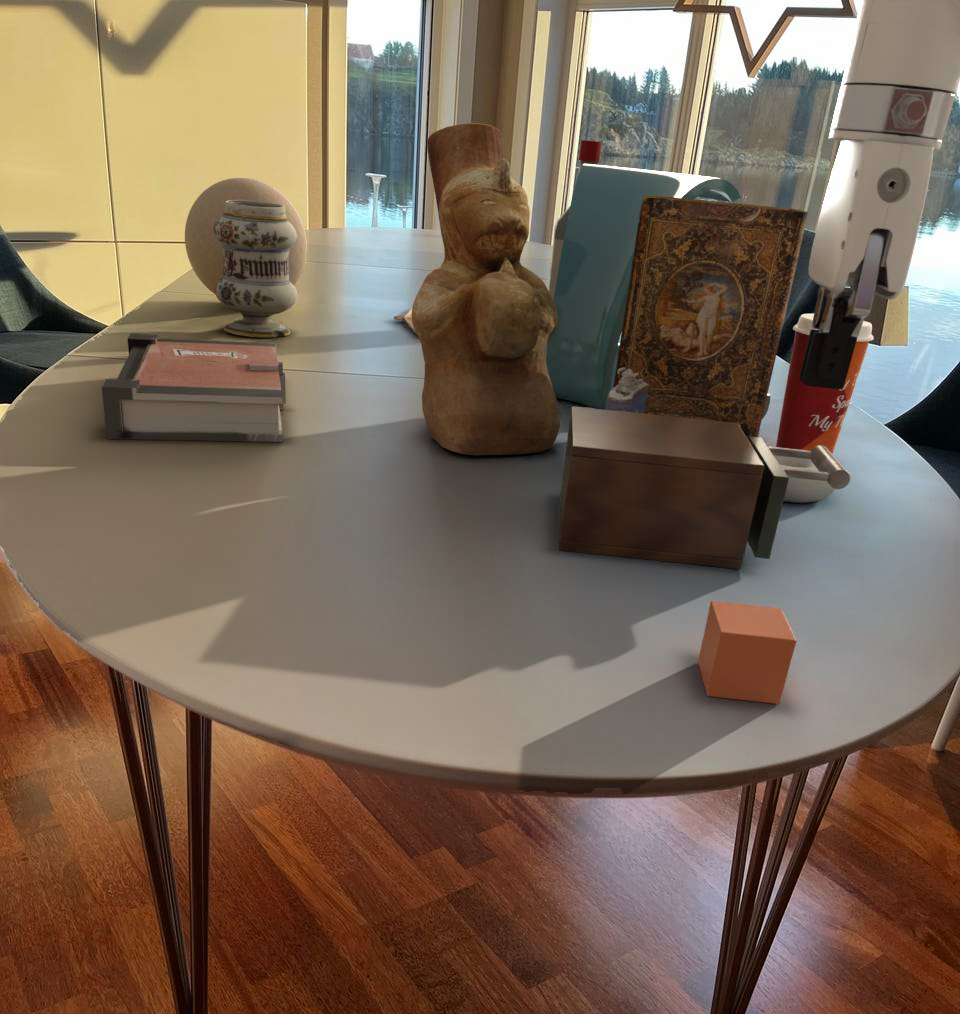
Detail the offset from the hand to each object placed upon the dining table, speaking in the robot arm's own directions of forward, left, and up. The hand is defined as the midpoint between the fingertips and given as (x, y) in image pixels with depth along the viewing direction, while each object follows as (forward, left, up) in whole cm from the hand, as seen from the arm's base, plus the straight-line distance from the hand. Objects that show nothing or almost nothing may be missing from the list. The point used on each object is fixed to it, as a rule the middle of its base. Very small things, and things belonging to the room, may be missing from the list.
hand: (820, 384), depth 74 cm
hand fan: (+41, -91, -14) cm, 101 cm away
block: (+8, +25, -14) cm, 30 cm away
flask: (+14, -14, -14) cm, 24 cm away
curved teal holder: (+7, -47, -14) cm, 49 cm away
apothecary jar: (+66, -69, -14) cm, 96 cm away
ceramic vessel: (+29, -26, -14) cm, 41 cm away
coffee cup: (-8, -29, -14) cm, 33 cm away
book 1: (+59, -25, -14) cm, 65 cm away
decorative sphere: (+74, -91, -14) cm, 118 cm away
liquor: (+18, -106, -14) cm, 108 cm away
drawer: (+6, 0, -13) cm, 14 cm away
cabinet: (+12, 0, -14) cm, 18 cm away
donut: (-3, -16, -14) cm, 21 cm away
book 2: (+6, -28, -14) cm, 32 cm away
